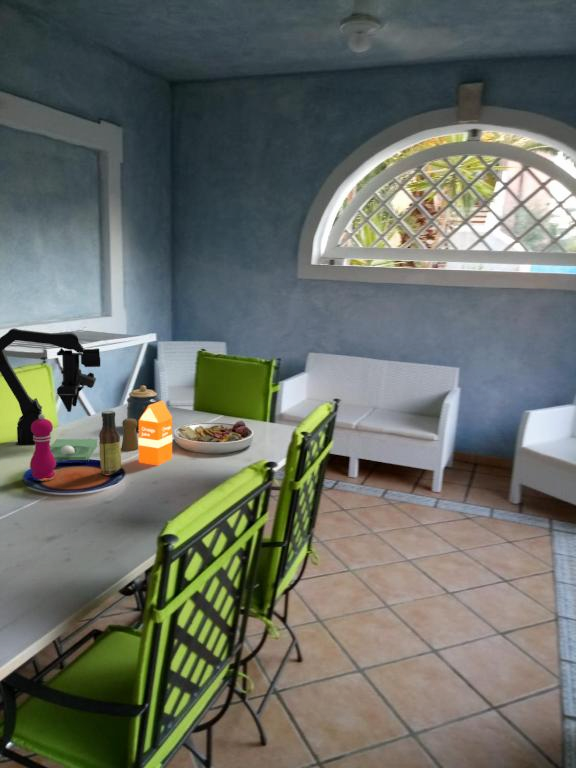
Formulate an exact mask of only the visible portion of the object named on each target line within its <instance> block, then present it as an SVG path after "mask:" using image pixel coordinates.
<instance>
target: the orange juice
mask: <svg viewBox="0 0 576 768" xmlns="http://www.w3.org/2000/svg"><path fill="white" fill-rule="evenodd" d="M138 447H139V449H138V463H141V464H147V465H153V466H154V465H155V466H160V465H162V464H163V463H166V462H168V461H170V460H171V459H173V416H172V415H171V412H170V411H169V409H168V408H167V406H166V404H165V402H164V400H159V401H158V402H157V403H154V404H151V405H149V406H148V407H147V409H146V410H145V412H144V413H143V415H142V417H141V418H140V420H139V431H138Z"/></svg>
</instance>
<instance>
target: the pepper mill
mask: <svg viewBox="0 0 576 768" xmlns="http://www.w3.org/2000/svg"><path fill="white" fill-rule="evenodd" d="M45 417H46V416H45V414H43V413H42V414H40V415H39V416H38V418H39V419H38V420H35V421H34V422H33V423H32V425H31V431H32V433H33V434H34V436H33V438H34V439H33V440H34V441H35V444H34V445H35V446H34V452H33V455H32V456H31V458H30V459H31V460H30V463H29V468H30V470H31V471H32V473H31V477H32V476H33V477H35V478H38V479H43V478H51V477H53V476H54V475H55V476H56V474H55V473H56V472H55V468H56V466H57V464H56V460H55V458H54V456H53V454H52V452H51V450H50V446H51V445H50V442H51V440H52V434H51V433H52V431H53V428H54V426H53V423H52V421H50V420H49V419H47V418H45Z"/></svg>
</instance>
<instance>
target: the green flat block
mask: <svg viewBox="0 0 576 768" xmlns="http://www.w3.org/2000/svg"><path fill="white" fill-rule="evenodd" d="M66 445H69V446H72V447H73V448H74V450H75V452H74V453H69V454H63V453H60V452H61V449H62V448H63V447H64V446H66ZM97 447H98V439H97V438H96V439H95V438H87V439H86V438H85V439H84V438H83V439H82V438H81V439H80V438H72V439H71V438H62V439H60V438H59V439H58V438H56V439H55V440H54V442H53V443H52V444H51V445H50V450H51V452H52V454H53V456H54V458H55V460H56V461H63V460H87V459H89V460H90V459H91V457H92V455H93V453H94V452H95V451H96V448H97Z"/></svg>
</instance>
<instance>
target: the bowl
mask: <svg viewBox="0 0 576 768" xmlns="http://www.w3.org/2000/svg"><path fill="white" fill-rule="evenodd" d="M254 435H255V434H254V431H253V429H251V428H250V427H247V426H246V423H245V422H244V421H243V420H238V421H236V422H235V423H231V422H230V423H229V422H213V421H212V422H210V421H209V422H195V423H188V424H185V425H181V426H179V427H177V428H175V429H174V430H173V440H174V441H175V443H176V444H177V445H178V446H179V447H181V448H182V449H184V450H187V451H188V452H189V451H190V452H194V453H198V452H199V454H208V455H209V454H213V455H214V454H229V453H235V452H238V451H241V450H243V449H246V448H247V447H249V445H250V444H252V442H253V439H254Z"/></svg>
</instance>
